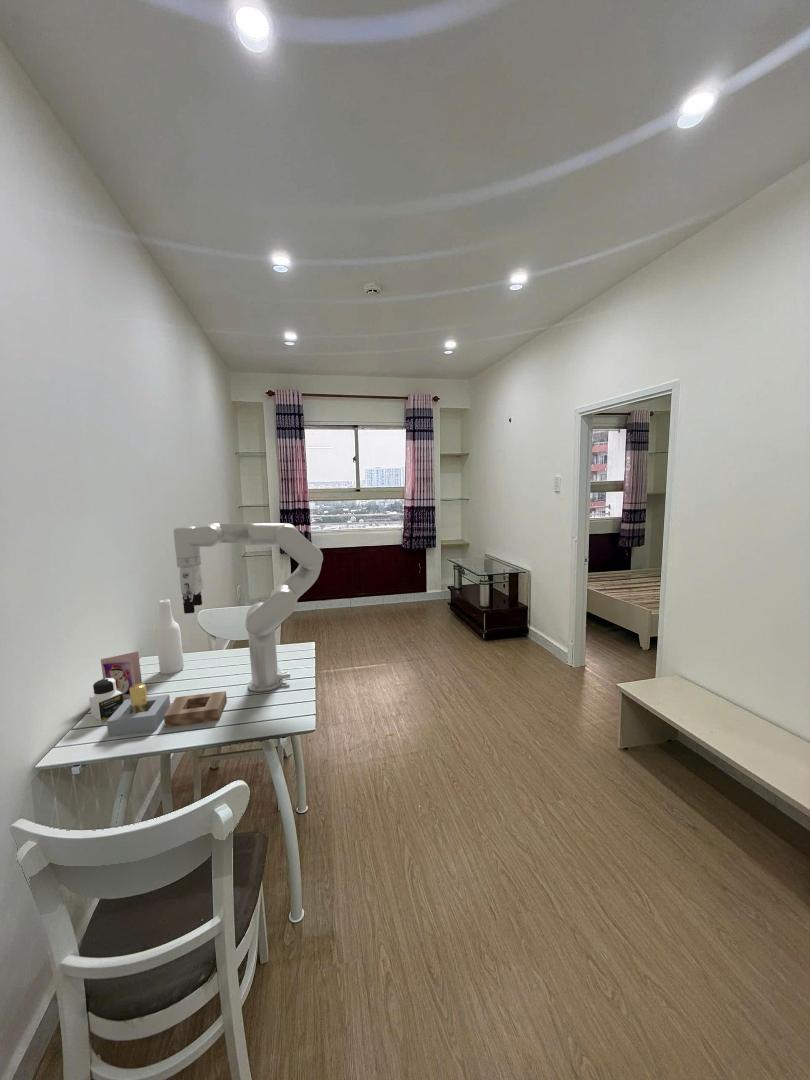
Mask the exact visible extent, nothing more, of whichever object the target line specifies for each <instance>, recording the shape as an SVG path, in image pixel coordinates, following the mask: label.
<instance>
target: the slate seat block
mask: <svg viewBox="0 0 810 1080" xmlns="http://www.w3.org/2000/svg"><path fill="white" fill-rule="evenodd" d="M147 701H148V711H147V712H139V713H132V706H131V698H126V699H125V700H123V703H122V704H121V706H120V707H119V708H118V709H117V710H116V711H115V712H114V713H113V715H112V716H111V717H110V718H109V719H107V720H105V721H106V729H107V736H108V737H114V736H122V735H129V734H137V733H145V732H151V731H153V732H154V731H156V730H158V729H159V726H160V725H161V724H162V722H163V721H164V715H165V713H166V712H167V710H168V709H169V707H170V706H171V699H170V694H169V693H168V694H162V695H152V696H147Z"/></svg>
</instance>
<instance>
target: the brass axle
mask: <svg viewBox="0 0 810 1080" xmlns="http://www.w3.org/2000/svg"><path fill="white" fill-rule="evenodd" d="M129 690H130V698H129V699H131V706H132V713H139V712H147V711H148V701H147V697H148V694H147V686H146V683H143V682H142V683H140V684H136V685H133V686H131V687H130V688H129Z"/></svg>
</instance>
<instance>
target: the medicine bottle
mask: <svg viewBox="0 0 810 1080" xmlns="http://www.w3.org/2000/svg"><path fill="white" fill-rule="evenodd" d="M92 687H93V688H92V689H93V695H90V696H89V698H88V699H89V706H90V713H91V716H93V718H94V717H95V718H94V719H96V720H97V721H99V722H102V721H103V722H104V721H107V720H108V719H109V718H110V717H111V716H112V715H113V713H114V712H115V711H116V710H117V709H118V708H119V707H120V706H121V704H122V703H123V702H124V698H123V694H122V692H120V691H118V690H116V682H115V679H113V678H105V679H103V678H101V679H99V680H97V681H96V682H94V683H93V684H92Z"/></svg>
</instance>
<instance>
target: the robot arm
mask: <svg viewBox="0 0 810 1080" xmlns="http://www.w3.org/2000/svg"><path fill="white" fill-rule="evenodd" d="M173 541H174V549H175V560H176V567H177V568H178V569H179V586H180V591H181V595H182V597H181V598H182V604H183V613H184V614H185V615H186V614H194V613H195V607H197V606H202V605H203V598H202V591H203V590H204V583H203V581H204V580H203V575H202V570H201V565H202V560H201V559H202V558H201V551H200V548H201V547H204V548H212V547H215V546H216V545H218V544H242V545H244V546H247V547H255V548H256V547H279V548H280V549H281V550H282V551H284V552H285V553H286V554H287V555H288V556H289V557H290V558H292V559H293V560H295V562H297V563H298V566H297V568H296V569H295V570H294V571H293V572H291V574H290V575H289V576H288V577H287V578H285V579H284V580H283V581H281V583H279V584H277V586H275V587H274V588H273V589H272V590H271V592H270V596H269V598H268V599H266V600H265V601H264V602H262V601H261V602H256V603H254V604H252V605H251V606H250V607H249V609H248V610H247V613H246V617H245V622H244V623H245V624H244V625H245V629H246V632H247V634H248V635H247V636H248V647H249V648H248V649H249V650H248V651H249V661H250V672H251V673H250V674H251V680H249V681H248V683H247V688H248V690H250V691H252V692H255V693H256V692H257V693H262V692H268V691H273V690H275V689H277V688H279V687H281V686H282V684H283V683H284V680H287V679H291V672H288V670H287V671H280V668H279V667H278V656H277V641H276V639H277V638H276V628H277V627H278V626H279V625H281V623H283V622H285V620H286V619H288V618H289V616H291V614H293V612H294V611H295V609H296V608H297V604H298V599H299V598H300V597H301V596H303V595H304V593H306V592H307V591H308V590H309V589H310V588H311V587H312V586H313V585H314V584H315V582H316V581H317V580H318V578H319V576H320V573H321V570H322V566H323V565H322V564H323V562H324V555H323V552H322V550H321V549H320V547H319V546H318V545H316V544H315V543H312V542H311V541H310V540H309V539H307V538H306V537H305V536H304V535H303V534H302V533H301V532H300V531H299V530H298V529H297V527H296V526H295V525H294V524H292V523H287V522H284V523H281V522H275V523H274V522H273V523H272V522H271V523H269V522H268V523H267V522H266V523H265V522H264V523H262V522H261V523H259V522H256V523H255V522H246V523H239V522H238V523H233V522H231V523H228V522H227V523H226V522H224V523H223V522H216V523H215V522H213V523H207V524H205V525H203V526H197V527H196V526H194V525H193V526H192V525H187V526H185V525H184V526H178V527H175V528H174V529H173Z"/></svg>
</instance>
